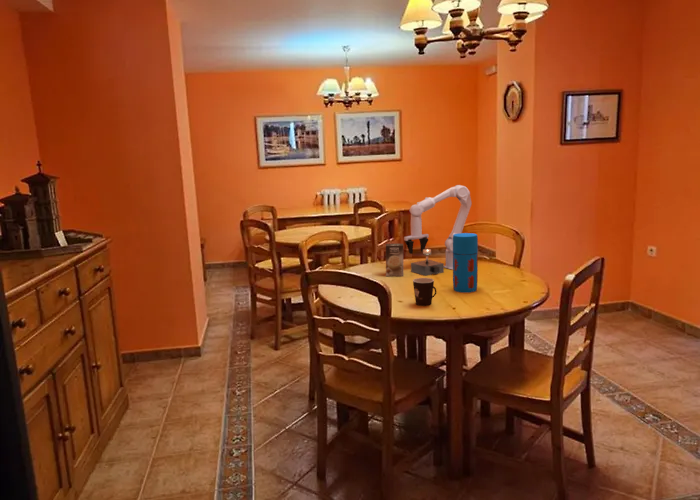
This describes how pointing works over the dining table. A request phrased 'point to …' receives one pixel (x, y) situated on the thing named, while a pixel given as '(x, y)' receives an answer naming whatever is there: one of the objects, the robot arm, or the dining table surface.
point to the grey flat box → (427, 267)
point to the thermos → (465, 262)
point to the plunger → (426, 252)
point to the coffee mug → (423, 291)
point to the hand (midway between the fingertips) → (416, 252)
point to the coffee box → (394, 259)
